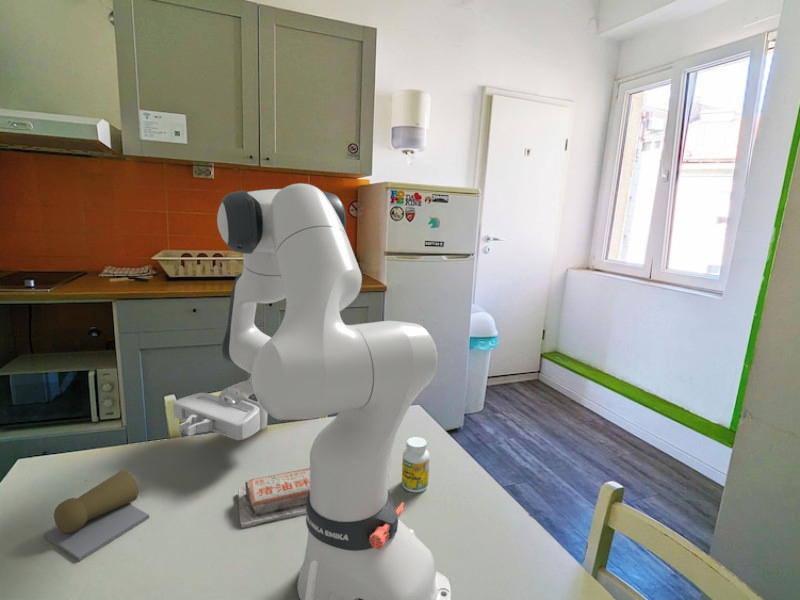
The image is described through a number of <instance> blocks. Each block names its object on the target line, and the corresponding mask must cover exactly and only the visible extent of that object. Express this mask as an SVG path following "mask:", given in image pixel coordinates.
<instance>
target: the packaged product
mask: <svg viewBox="0 0 800 600" xmlns="http://www.w3.org/2000/svg"><path fill="white" fill-rule="evenodd" d="M309 491H310V467H309V468H304V469H299V470H298V469H297V470H293V471H287V472H282V473H277V474H272V475H267V476H262V477H256V478H251V479H247V480H245V486H244V487H239V488H238V489H237V498H238V508H239V509H238V511H239V522H240V525H241V529H244V528H249V527H254V526H256V525H261V524H263V523H268V522H274V521H279V520H283V519H288V518H291V517H297V516H299V517H300V516H303V515H306V504H307V495H308V493H309Z"/></svg>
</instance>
